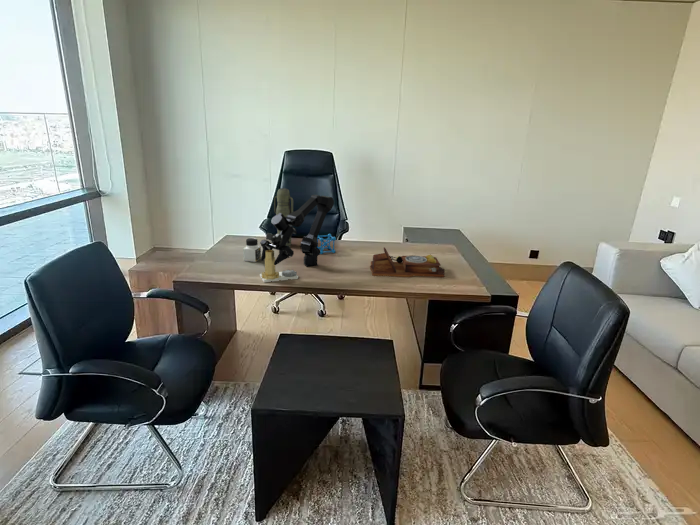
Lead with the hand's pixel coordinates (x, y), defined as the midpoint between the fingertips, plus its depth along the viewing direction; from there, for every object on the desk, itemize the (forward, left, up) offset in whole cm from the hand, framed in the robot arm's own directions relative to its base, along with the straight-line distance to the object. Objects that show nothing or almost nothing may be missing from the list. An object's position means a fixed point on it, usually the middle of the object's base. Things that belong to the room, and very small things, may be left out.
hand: (267, 262), depth 199 cm
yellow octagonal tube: (-1, -1, -8) cm, 8 cm away
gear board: (-6, -1, -9) cm, 11 cm away
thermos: (-23, -56, -9) cm, 61 cm away
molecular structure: (-43, -36, -9) cm, 57 cm away
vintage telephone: (-74, +7, -9) cm, 75 cm away
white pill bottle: (+1, -33, -9) cm, 34 cm away
